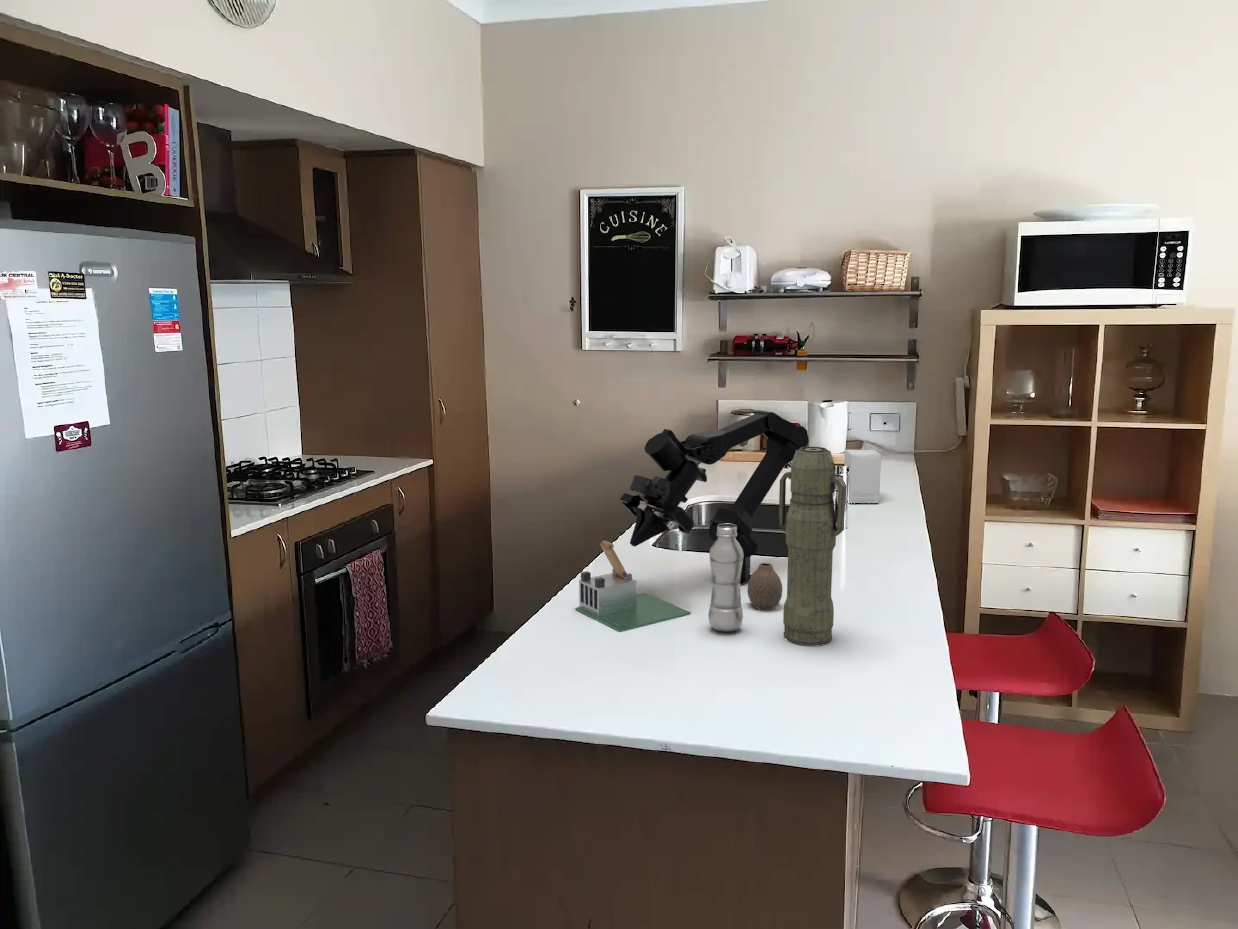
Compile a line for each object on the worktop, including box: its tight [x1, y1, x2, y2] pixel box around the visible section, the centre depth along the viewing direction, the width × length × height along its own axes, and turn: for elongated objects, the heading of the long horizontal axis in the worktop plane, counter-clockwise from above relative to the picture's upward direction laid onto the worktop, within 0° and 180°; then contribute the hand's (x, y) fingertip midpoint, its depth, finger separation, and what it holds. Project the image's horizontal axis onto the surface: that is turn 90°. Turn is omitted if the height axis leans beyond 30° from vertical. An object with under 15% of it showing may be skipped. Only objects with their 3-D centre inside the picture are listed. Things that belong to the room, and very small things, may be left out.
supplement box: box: [843, 449, 882, 505], centre depth 286 cm, size 9×9×15 cm
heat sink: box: [575, 568, 692, 633], centre depth 190 cm, size 17×16×8 cm
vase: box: [747, 562, 783, 610], centre depth 193 cm, size 7×7×9 cm
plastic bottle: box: [708, 524, 744, 632], centre depth 179 cm, size 6×7×20 cm
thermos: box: [778, 446, 847, 647], centre depth 173 cm, size 9×12×35 cm
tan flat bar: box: [599, 540, 628, 579], centre depth 192 cm, size 8×3×1 cm
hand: (632, 545), depth 194 cm, fingers closed
